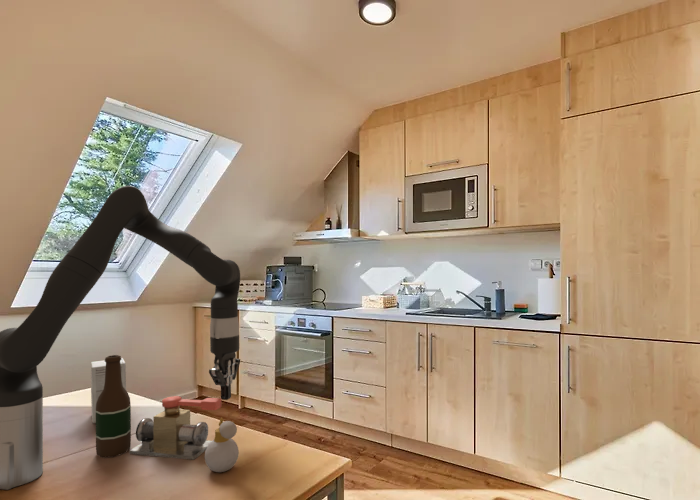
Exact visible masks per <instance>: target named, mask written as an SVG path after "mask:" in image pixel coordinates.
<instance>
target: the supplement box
mask: <svg viewBox="0 0 700 500" xmlns="http://www.w3.org/2000/svg"><path fill="white" fill-rule="evenodd" d="M120 365H121V378H122V385H123V387H124V389H125V390H126V391H127V372H126V368H127V367H126V361H125V360H124V357H121V360H120ZM105 370H106V362H105V359H104V360H98V361H91V362H90V393H91V394H90V395H91V399H90V400H91V401H90V402H91V421H92V424H96V403H97V400H98V397H99V395H100V394H101V392H102V391H103V389H104V384H105Z"/></svg>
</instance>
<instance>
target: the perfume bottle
mask: <svg viewBox="0 0 700 500" xmlns="http://www.w3.org/2000/svg"><path fill="white" fill-rule="evenodd" d="M214 430H215V431H214V438H213V440H211V441H212V442H210V444H209V445H208V446H207V448H206V451H204V461H205V462H204V463H205V464H206V466H207V468H208V469H210V470H211V471H212V472H216V473H222V472H223V473H225V472H226V471H230V469H232V468H233V467H234V466H235V464H236V463H237V461H238V459H239V454H240V452H239V446H238V444H237V442H236V441H235V440H234V439H233V437H235V436H236V434H237V430H238V427H237V425H236V424H235V423H234V422H233V421H231V420H225V421H224V419H223V417H220V419H219V422H218V428H216V429H214Z"/></svg>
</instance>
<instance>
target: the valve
mask: <svg viewBox="0 0 700 500" xmlns="http://www.w3.org/2000/svg"><path fill="white" fill-rule="evenodd" d="M163 408H164V410H163V411H162V412H160V413H158V414H156V415H154V416H153V419H152V418H150V417H145V418H142V419H141V420H140V421H139V422H138V424H137V426H136V430H135V438H136V440H137V441H139V442H141V443H139V444H138V445H136V446H134V447H133V448H130V449H128V451H129V454H130V455H138V456H140V455H141V456H147V457H148V456H150V457H159V458H160V457H162V458H172V459H173V458H175V459H184V460H195V459H197V458H199V456H201V455H202V454H203V453H205V451H206V448H207V446H208V445H209V444H210V442H212V441H213V440H207V438H208V435H209V424H208V423H207V422H206V421H199V422H198V423H196V424H191V409H182V408H180V405H179V406H176V407H170V408H166V407H163Z"/></svg>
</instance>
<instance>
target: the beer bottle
mask: <svg viewBox="0 0 700 500" xmlns="http://www.w3.org/2000/svg"><path fill="white" fill-rule="evenodd" d="M121 358H122V357H121V355H119V354H113V355H108V356H107V357H105V358H104V360H105V362H106V370H105V384H104V389H103V391H102V392H101V394H100V395H99V397H98V400H97V403H96V423H95V454H96V455H97V456H98V457H100V458H102V459H103V458H104V459H105V458H114V457H118V456H120V455H122V454H125V453H127V452H128V451H129V450H130V449H131V445H132V444H131V441H132V433H131V432H132V431H131V430H132V429H131V428H132V426H131V425H132V423H131V421H132V419H131V418H132V415H131V413H132V412H131V411H132V410H131V397H130V395H129V392H128V391H127V389H126V390H125V389H124V387H123V385H122V378H121V365H120V360H121Z"/></svg>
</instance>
